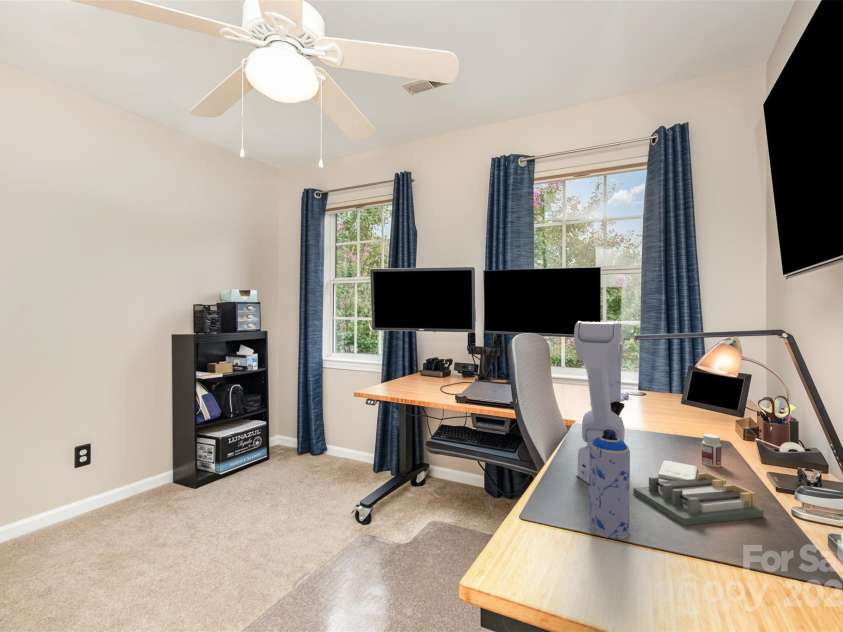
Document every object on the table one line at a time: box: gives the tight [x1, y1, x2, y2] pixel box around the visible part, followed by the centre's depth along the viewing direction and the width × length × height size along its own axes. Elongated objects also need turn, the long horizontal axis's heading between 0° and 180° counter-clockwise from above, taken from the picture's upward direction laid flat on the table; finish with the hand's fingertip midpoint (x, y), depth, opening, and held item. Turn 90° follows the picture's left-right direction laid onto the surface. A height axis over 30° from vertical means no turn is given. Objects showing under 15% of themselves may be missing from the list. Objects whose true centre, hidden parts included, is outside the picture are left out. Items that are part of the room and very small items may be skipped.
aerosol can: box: [587, 429, 631, 540], centre depth 83 cm, size 8×8×20 cm
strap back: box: [656, 478, 712, 488], centre depth 97 cm, size 14×3×1 cm, turn 101°
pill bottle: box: [701, 433, 722, 468], centre depth 119 cm, size 5×5×8 cm
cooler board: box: [632, 471, 765, 527], centre depth 94 cm, size 20×15×4 cm
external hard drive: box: [657, 460, 698, 481], centre depth 112 cm, size 2×8×12 cm
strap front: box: [680, 491, 740, 502], centre depth 91 cm, size 14×3×1 cm, turn 101°
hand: (609, 427), depth 120 cm, fingers closed
